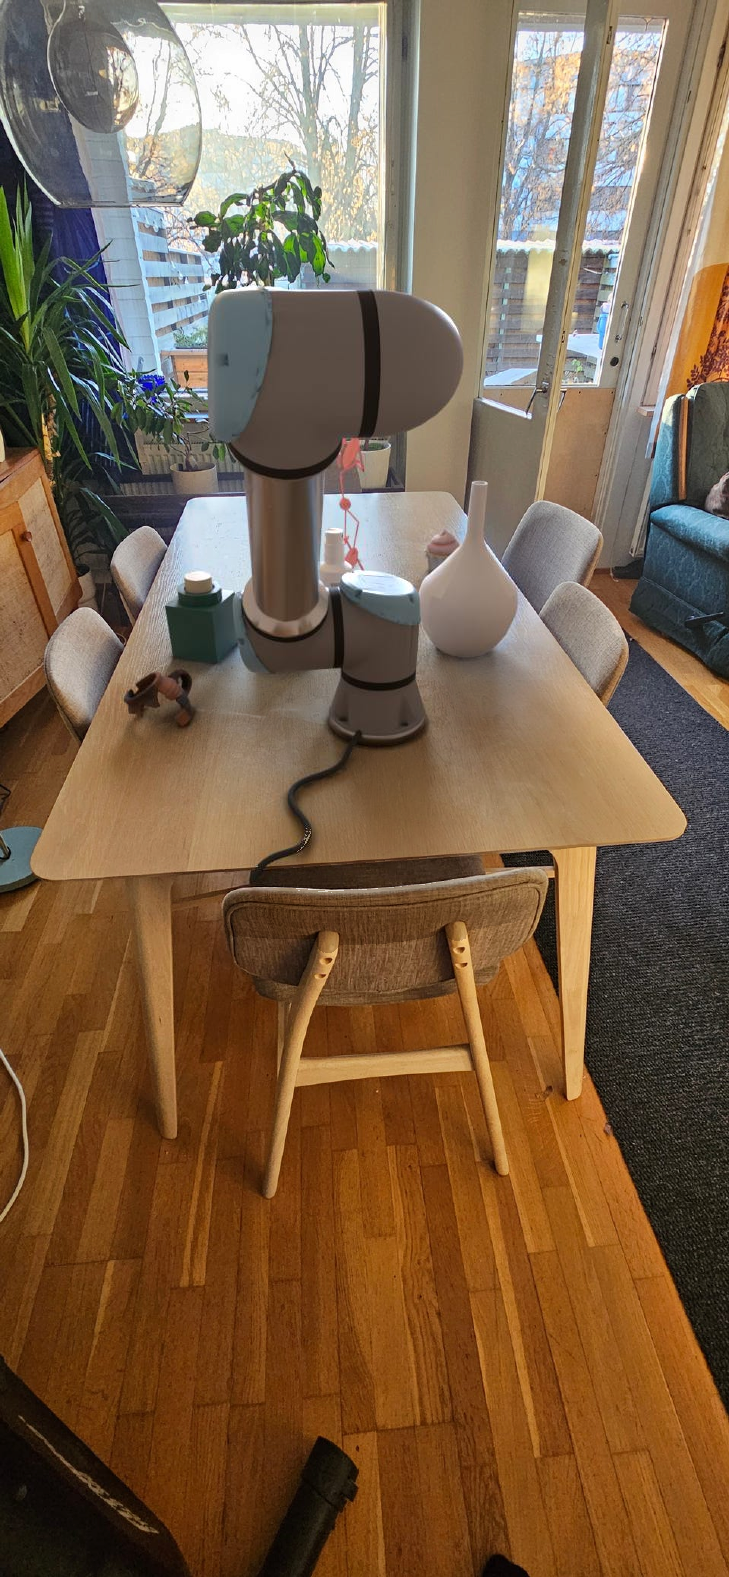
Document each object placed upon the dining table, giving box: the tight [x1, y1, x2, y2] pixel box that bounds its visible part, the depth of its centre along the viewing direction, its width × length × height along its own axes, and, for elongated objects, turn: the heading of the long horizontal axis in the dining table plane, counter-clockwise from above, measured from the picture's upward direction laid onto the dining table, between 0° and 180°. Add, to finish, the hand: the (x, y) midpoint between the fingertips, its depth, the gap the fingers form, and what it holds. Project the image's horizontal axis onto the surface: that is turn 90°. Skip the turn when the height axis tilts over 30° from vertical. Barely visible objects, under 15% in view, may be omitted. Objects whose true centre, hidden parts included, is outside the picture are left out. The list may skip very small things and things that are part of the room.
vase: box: [418, 480, 519, 658], centre depth 129 cm, size 18×18×30 cm
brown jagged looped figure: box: [123, 668, 195, 727], centre depth 115 cm, size 12×10×8 cm
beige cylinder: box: [183, 570, 213, 593], centre depth 128 cm, size 5×5×3 cm
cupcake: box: [423, 529, 460, 574], centre depth 168 cm, size 9×9×10 cm
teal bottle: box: [164, 580, 238, 664], centre depth 132 cm, size 10×9×12 cm
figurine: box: [336, 438, 365, 571], centre depth 161 cm, size 15×26×35 cm, turn 12°
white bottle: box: [319, 527, 353, 587], centre depth 142 cm, size 7×7×18 cm
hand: (277, 562), depth 124 cm, fingers closed
